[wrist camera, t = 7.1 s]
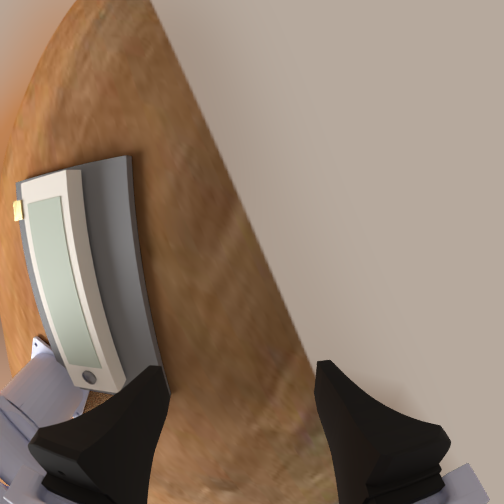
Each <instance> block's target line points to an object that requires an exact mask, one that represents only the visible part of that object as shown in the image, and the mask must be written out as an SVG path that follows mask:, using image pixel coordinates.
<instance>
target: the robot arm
mask: <svg viewBox="0 0 504 504" xmlns="http://www.w3.org/2000/svg"><path fill="white" fill-rule="evenodd" d="M88 395H89V390H84V389H80V387H77V386H74V384H73V382H72V380H71V377H70V375H69V373H68V371H67V369H66V368H65V367H63V366H62V365H61V364H60V363H59V362H57V361H56V358H55V356H54V353H53V351H52V348H51V347H50V346H49V345H47V344H46V343H45V342H44V341H43V340H41V339H40V338H39V337H37V336H35V337H34V338H33V346H32V356H31V360H30V361H29V362H28V363H27V364H26V365H25V366H24V367H23V368H22V369H21V370H20V371H19V372H18V373H17V375H16V376H15V377H14V378H13V379H12V380H11V381H10V382H9V383H8V384H7V385H6V386H5V387H4V388H3V389H2V390H1V391H0V478H1V479H2V480H3V481H4V482H5V483H6V484H8V485H9V486H10V487H9V486H6V485H4V484H2V483H1V482H0V504H147V498H148V487H149V479H150V473H151V467H152V461H153V456H154V452H155V448H156V446H157V443H158V440H159V437H160V434H161V431H162V428H163V425H164V422H165V419H166V416H167V412H168V407H169V401H170V394H169V391H168V388H167V384H166V381H165V377H164V373H163V370H162V366H155V365H149V366H148V367H147V368H146V369H145V370H143V371H142V372H141V373H140V374H139V375H138V376H137V377H136V378H134V379H133V380H132V381H131V382H130V383H129V384H127V385H126V386H125V387H124V388H123V389H121V390H120V391H119V392H118V393H116V394H115V395H114V396H112V397H111V398H110V399H108V400H107V401H105V402H104V403H102V404H101V405H99V406H97V407H96V408H94V409H92V410H90V411H88V412H86V413H84V414H83V411H84V407H85V404H86V401H87V398H88ZM314 395H315V401H316V406H317V411H318V414H319V417H320V420H321V423H322V426H323V429H324V432H325V435H326V438H327V441H328V444H329V447H330V451H331V455H332V460H333V465H334V471H335V477H336V483H337V490H338V497H339V504H487V503H488V502H489V500H490V499H489V497H488V495H487V493H486V492H485V490H484V488H483V486H482V485H481V483H480V481H479V480H478V478H477V476H476V474H475V473H474V471H473V469H472V468H471V467H470V465H469V463H466V464H465V465H463V466H461V467H459V468H457V469H455V470H453V471H451V472H449V473H447V474H446V475H445V476H443V477H441V475H440V474H439V473H440V472H441V470H442V469H441V467H440V465H439V463H440V461H441V460H442V459H443V457H444V456H445V454H446V453H447V452H448V450H449V448H450V445H451V441H450V439H449V437H448V436H447V434H446V432H445V431H444V430H443V428H442V427H441V426H440V425H436V424H431V423H427V422H423V421H420V420H417V419H414V418H411V417H408V416H406V415H403V414H401V413H399V412H397V411H395V410H393V409H391V408H389V407H387V406H385V405H383V404H382V403H380V402H379V401H377V400H375V399H374V398H372V397H371V396H369V395H368V394H367V393H365V392H364V391H363V390H362V389H361V388H359V387H358V386H357V385H356V384H355V383H354V382H352V381H351V380H350V379H349V378H348V377H347V376H346V375H345V374H344V373H343V372H342V371H341V370H340V369H339V368H338V367H337V366H336V365H335V364H334V363H333V362H332V361H331V360H324V361H317V369H316V380H315V390H314ZM72 417H74V418H73V419H71V418H72Z"/></svg>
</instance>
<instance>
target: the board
mask: <svg viewBox="0 0 504 504" xmlns="http://www.w3.org/2000/svg"><path fill="white" fill-rule="evenodd" d="M63 170H81V177H82V190H83V200H84V209H85V217H86V224H87V231H88V238H89V244H90V249H91V255H92V260H93V265H94V270H95V275H96V279H97V284H98V288H99V292H100V297H101V301H102V304H103V308H104V312H105V316H106V319H107V323H108V326H109V330H110V333H111V336H112V339H113V343H114V346H115V349H116V352H117V355H118V358H119V361H120V363H121V366H122V369H123V372H124V374H125V377H126V381H125V383H124V385H123V387H122V389H123V388H124V387H125V386H126V385H127V384H129V383H130V382H131V381H132V380H133V379H134V378H136V377H137V376H138V375H139V374H140V373H141V372H142V371H143V370H145V369H146V368H147V367H148V366H149V365H155V366H162V370H163V373H164V377H165V381H166V384H167V388H168V391H169V394H170V396H171V392H170V389H169V385H168V382H167V378H166V375H165V371H164V367H163V363H162V359H161V356H160V352H159V347H158V343H157V339H156V335H155V330H154V326H153V321H152V316H151V311H150V306H149V301H148V296H147V290H146V285H145V279H144V273H143V267H142V260H141V253H140V246H139V238H138V230H137V221H136V212H135V201H134V189H133V174H132V156H120V157H115V158H110V159H105V160H100V161H95V162H91V163H86V164H82V165H78V166H73V167H69V168H65V169H61V170H58V171H54V172H50V173H47V174H43V175H40V176H36V177H33V178H29V179H26V180H23V181H20V182H17V183H16V194H17V201H15V202H13V207H14V217H15V221H17V220H19V223H20V231H21V237H22V243H23V249H24V254H25V259H26V264H27V269H28V273H29V278H30V282H31V286H32V290H33V293H34V297H35V301H36V304H37V307H38V311H39V314H40V317H41V320H42V323H43V326H44V329H45V332H46V335H47V338H48V340H49V343H50V346H51V348H52V351H53V353H54V356H55V358H56V361H57V362H59V363H60V364H61V365H62V366H63V367H65V368H66V366H65V364H64V362H63V359H62V357H61V354H60V352H59V349H58V347H57V344H56V342H55V339H54V336H53V334H52V331H51V328H50V325H49V322H48V319H47V316H46V313H45V310H44V307H43V303H42V300H41V296H40V293H39V289H38V285H37V282H36V278H35V273H34V269H33V265H32V260H31V255H30V250H29V245H28V239H27V233H26V227H25V220H24V212H23V203H22V192H21V183H24V182H27V181H30V180H33V179H36V178H40V177H43V176H46V175H50V174H53V173H56V172H60V171H63ZM80 389H84V390H89V391H94V392H100V393H106V394H112V395H115V394H116V393H113V392H106V391H99V390H93V389H88V388H82V387H80Z"/></svg>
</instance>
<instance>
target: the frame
mask: <svg viewBox="0 0 504 504" xmlns="http://www.w3.org/2000/svg"><path fill="white" fill-rule="evenodd" d="M21 192H22V203H23V212H24V220H25V227H26V233H27V239H28V245H29V250H30V255H31V260H32V265H33V269H34V273H35V278H36V282H37V285H38V289H39V293H40V296H41V300H42V303H43V307H44V310H45V313H46V316H47V319H48V322H49V325H50V328H51V331H52V334H53V336H54V339H55V342H56V344H57V347H58V349H59V352H60V354H61V357H62V359H63V362H64V364H65V366H66V369H67V371H68V373H69V375H70V377H71V380H72V382H73V384H74V386H77V387H82V388H88V389H93V390H99V391H106V392H113V393H118V392H119V391H120V390H121V389H122V387H123V385H124V383H125V381H126V377H125V374H124V372H123V369H122V366H121V363H120V361H119V358H118V355H117V352H116V349H115V346H114V343H113V339H112V336H111V333H110V330H109V326H108V323H107V319H106V316H105V312H104V308H103V304H102V301H101V297H100V292H99V288H98V284H97V279H96V275H95V270H94V265H93V260H92V255H91V249H90V244H89V238H88V231H87V224H86V217H85V209H84V200H83V190H82V177H81V170H63V171H60V172H56V173H53V174H50V175H46V176H43V177H40V178H36V179H33V180H30V181H27V182H24V183H21Z"/></svg>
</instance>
